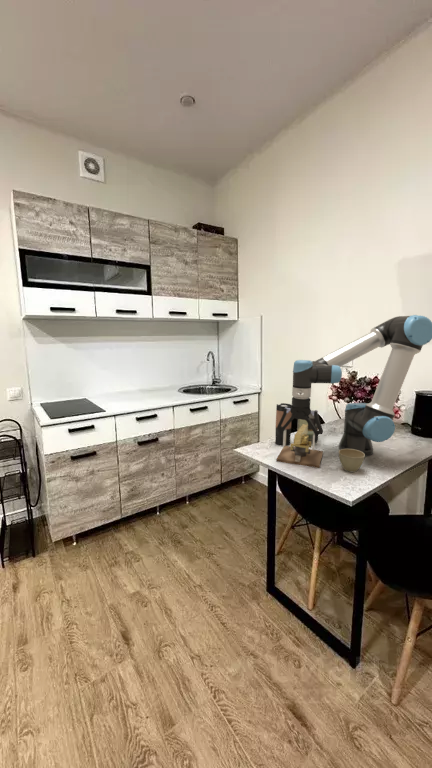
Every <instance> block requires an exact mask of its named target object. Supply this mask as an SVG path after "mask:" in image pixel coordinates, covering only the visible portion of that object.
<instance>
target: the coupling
mask: <svg viewBox="0 0 432 768" xmlns="http://www.w3.org/2000/svg"><path fill="white" fill-rule="evenodd" d="M307 433H308V425H306V424H303V425H302V426H301V427H300V429H299V430H298V431H296V432H295V433H294V437H293V438H294V439H293V443H291V442H290V445H289V446H290V450H293V449H294V447H295V446H296V447H302V448H306V449H305V452H309V449H312V446H311V441H308V435H307Z"/></svg>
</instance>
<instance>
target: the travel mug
mask: <svg viewBox="0 0 432 768" xmlns="http://www.w3.org/2000/svg"><path fill="white" fill-rule="evenodd" d="M285 407H287V408H291V407H292V403H280V404H276V410H275V411H276V412H275V445H277V446H280V447H284V446H283V438H281V430H280V429H277V426H278V424H279V422H280V420H281V418H282V415H283V413H284V408H285ZM291 417H292V413H291V412H290V411H289V413H287V415H286V417H285V419H284V421H283V423H282V425H281V426H282V427H283V426H284V425H285V424H286V422H287V421H288V420H289V419H290V418H291ZM285 430H286V445H285V446H290V444H291V433H292V421H291V422H290V424H289V425H288V426H287V427H286V428H285Z"/></svg>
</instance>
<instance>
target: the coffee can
mask: <svg viewBox="0 0 432 768" xmlns="http://www.w3.org/2000/svg"><path fill="white" fill-rule="evenodd" d="M309 417H310V419H311V421H312V423H313V424H314V426H315V427H316V429H317V430H318V427H317V424H316V421H315V418H314V416H313V415H312V413H310V414H309ZM318 418H319V419H320V416H319V415H318ZM303 424H306V425H308V433H307V435H308V441H311V447H312V445H313V434H314V432H313V430H312V429H311V427H310V426H309V424H308V423H307V421H306V420H305V419H304V420H301V419H297V428H296V429H297V431H298V430H299V429H300V427H301V426H302V425H303ZM297 431H296V432H297ZM318 431H319V430H318ZM316 445H318V442H315V446H316Z"/></svg>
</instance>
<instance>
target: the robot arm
mask: <svg viewBox="0 0 432 768" xmlns="http://www.w3.org/2000/svg"><path fill="white" fill-rule="evenodd" d="M431 341H432V320H431V319H430V318H429V317H427V316H425V315H417V314H413V315H401V316H400V315H399V316H394V317H392V318H390V319H387V320H386V321H384V322H382V323H380V324H378V325H377V326H374V327H373V328H371V329H370V332H368V333H366V334H364V335H362V336H360V337H358V338H357V339H355V340H353V341H351V342H349V343H347V344H346V345H344V346H341V347H339V348H338V349H336V350H334V351H332V352H330V353H328V354H326V355H324V356H323V357H321V358H319V359H316V360H309V359H297V360H294V362H293V369H292V387H291V388H292V389H291V391H292V392H291V396H292V397H291V405H292V407H291V408H287V407H285V408H284V413H283V415H282V418H281V420H280V422H279V424H278V426H277V429H280V430H281V438H283V446H282V447H284V446H285V445H286V430H285V428H286V427H287V426H288V425H289V424H290V422H291V423H292V422H293V420H294V419H295V420H298V419H301V420H304V419H305V420H306V421H307V423H308V424H309V426H310V427H311V429H312V430H313V432H314V434H313V445H312V446H311V449H312V450H316V449H315V448H316V445H315V442H317V443H318V441H319V435H322V434H323V433H324V430H323V427H322V425H321V424H322V423H321V421H320V417H319V418H318V416H319V414H318V413H319V411H318V410H317V409H315V410H312V409H311V397H312V396H311V395H312V394H311V393H312V384H332V385H333V384H339V383H340V382H341V380H342V376H343V371H342V368H341V367H342V366H344V365H346V364H349V363H351V362H352V361H354V360H356V359H358V358H360V357H362V356H363V355H366V354H367V353H369V352H371V351H374V350H375V349H377V348H384V347H386V346H388V345H390V347H391V351H390V353H389V357H388V359H387V361H386V364H385V366H384V369H383V371H382V374H381V376H380V378H379V381H378V383H377V387H376V389H375V392H374V394H373V396H372V398H371V401H370V402H369V403H365V402H350V403H347V404H346V405H345V410H344V420H343V421H344V424H343V425H344V426H343V433H342V436H341V439H340V441H339V443H338V451H339V450H341V449H355V450H358V451H361V452H363V453H364V454H365V457H370V456H372V455H373V454H374V446H373V442H375V443H384V442H385V441H388V440H389V439H391V437H392V436H394V433H395V432H396V431H395V430H396V425H395V422H394V420H393V419H394V417H395V415H396V413H395V412H394V406H395V404H396V401H397V400H398V396H399V395H400V391H401V389H402V387H403V384H404V382H405V379H406V376H407V374H408V373H409V369H410V367H411V364H412V362H413V359H414V356H415V355H416V354H419V353H421V350H422V349H423V346H424V345H427V344H428V343H430V342H431ZM289 411H290V412H291V413H292V417H291V418H290V419H289V420H288V421H287V422H286V424H285V425H284V426H283V427H282V426H281V425H282V423H283V421H284V419H285V417H286V415H287V413H289ZM309 414H312V415H313V416H314V418H315V421H316V424H317V427H318V430H317V429H316V427H315V426H314V424H313V423H312V421H311V419H310V417H309Z"/></svg>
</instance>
